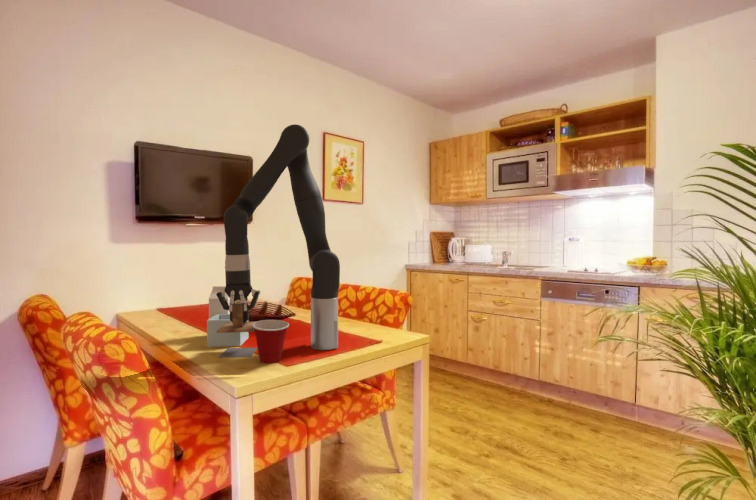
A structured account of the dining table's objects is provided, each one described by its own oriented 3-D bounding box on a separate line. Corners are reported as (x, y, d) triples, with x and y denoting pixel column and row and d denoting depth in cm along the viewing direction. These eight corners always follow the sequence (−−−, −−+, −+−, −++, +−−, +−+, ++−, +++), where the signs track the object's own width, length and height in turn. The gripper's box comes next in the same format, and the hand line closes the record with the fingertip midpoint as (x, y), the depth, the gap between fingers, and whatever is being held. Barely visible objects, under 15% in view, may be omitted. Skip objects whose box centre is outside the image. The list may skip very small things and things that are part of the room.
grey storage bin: (248, 339, 146) (248, 313, 145) (240, 347, 135) (240, 320, 134) (217, 339, 145) (217, 313, 145) (207, 348, 134) (206, 320, 134)
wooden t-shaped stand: (261, 323, 133) (260, 300, 133) (253, 331, 122) (252, 306, 122) (227, 324, 132) (226, 301, 132) (216, 333, 121) (215, 307, 121)
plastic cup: (265, 371, 112) (265, 329, 111) (245, 362, 119) (244, 323, 118) (296, 361, 120) (296, 322, 120) (275, 354, 127) (275, 317, 127)
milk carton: (228, 338, 146) (227, 287, 145) (209, 338, 146) (208, 287, 146) (235, 334, 153) (234, 285, 153) (217, 334, 153) (216, 285, 153)
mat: (258, 349, 133) (258, 347, 133) (250, 358, 123) (250, 356, 123) (227, 349, 132) (227, 348, 132) (217, 359, 122) (217, 357, 122)
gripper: (262, 267, 131) (264, 319, 131) (219, 268, 130) (221, 320, 130) (257, 269, 123) (259, 324, 124) (211, 270, 122) (213, 325, 123)
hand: (239, 322), depth 127 cm, fingers closed on wooden t-shaped stand, 3 cm apart
